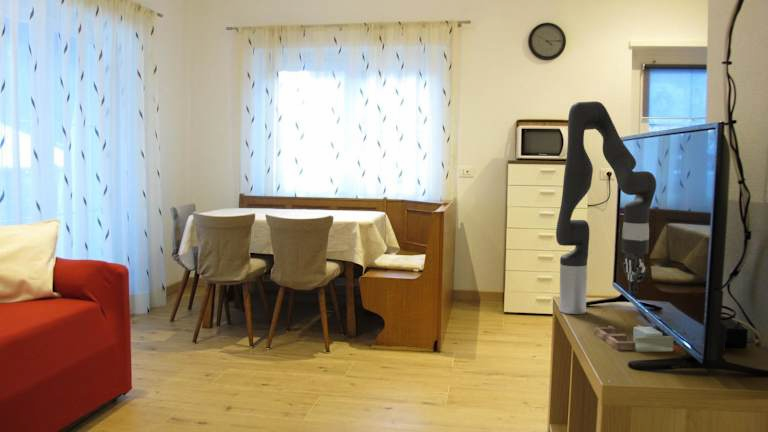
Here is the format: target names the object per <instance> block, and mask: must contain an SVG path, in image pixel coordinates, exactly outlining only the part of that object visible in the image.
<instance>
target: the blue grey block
mask: <svg viewBox="0 0 768 432" xmlns="http://www.w3.org/2000/svg"><path fill="white" fill-rule="evenodd" d="M632 334H633V335H632V342H635V337H644V336H664V335H663V332H661V331H659V330H657V329H655V328H653V327H651V326H642V327H637V326H633V332H632Z"/></svg>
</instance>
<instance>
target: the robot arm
mask: <svg viewBox="0 0 768 432" xmlns="http://www.w3.org/2000/svg"><path fill="white" fill-rule="evenodd" d="M567 121H568V123H567V146H566V147H567V149H566V159H565V166H564V174H563V181H562V182H563V184H562V185H563V186H562V196H561V203H560V207H559V214H558V219H557V221H556V222H557V223H556V224H557V225H556V229H555V238H556V242H557V244H558V245H559V246H561V247H562V246H565V247H568V246H573V247H574V249H573V250H571V251H570V252H567V253H565V254H562V255H561V256H560V259H559V261H560V262H559V301H558V303H559V305H558V308H559V309H558V311H559V312H561V313H564V314H568V315H569V314H570V315H584V314H586V312H587V285H588V284H587V281H588V279H587V278H588V277H587V276H588V258H589V245H590V225H589V223H588V221H586V219H585V220H584V219H572V216H573V213H574V211H575V209H576V207H577V206H578V205H579V203H580V202H581V201H582V200H583V198H585V196H586V195H587V194H588V192H589V190H590V189H591V186H592V181H593V175H594V174H593V172H594V168H593V164H592V162H591V161H592V160H591V159H590V157H589V155H588V153H587V150H586V148H585V143H584V142H585V141H584V139H585V138H584V137H585V131H588V130H589V131H591V130H596V131H597V132H598V133H599V134H600V136H601V137H602V153H603V157H604V158H605V160H606V162H607V163H608V164H609V166H610V167H611V169H612V170H613V173H614V176H615V180H616V182H617V186H618V188H619V189H620V191H621V192H622V193H624V194H625V195H627V196H635V197H634V199H633V200H632V201H631V202H628V203H626V204H624V207H623V225H622V229H621V230H622V233H621V234H622V235H621V252H622V253H624V254H625V257H624V258H625V259H621V266H622V270H623V273H624V276H625V278H627V280H628V293H630V294H635V295H637V294H638V293H639V291H638V290H639V282H642V281H643V280H644V278H645V276H646V274H647V272H648V269H649V268H648V266H646V265H645V264H644V263H645V259H644V255H646V254H649V247H650V246H649V241H650V240H649V239H650V225H649V222H650V221H649V220H650V218H649V217H650V208H651V206H652V204H653V200H654V196H655V193H656V190H657V180H656V177H655V176H654V174H653V173H652V172H650V171H647V170H646V171H645V170H643V171H642V170H641V171H635V170H634V169H635V168H636V166H637V161H636V159H635V156H634V155H632V153H631V151H630V150H629V149H628V147H627V146H626V145H625V143H624V141H622V138H621V136H620V135H619V133H618V131H617V128H616V126H615V124H614V122H613V120H612V118H611V116H610V114H609V112H608V110H607V108H606V106H604V104H603V103H602V102H600V101H597V100H596V101H595V100H594V101H579V102H575V103H573V104H572V105H571V106H570V109H569V113H568V119H567Z"/></svg>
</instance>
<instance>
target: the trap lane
mask: <svg viewBox="0 0 768 432" xmlns="http://www.w3.org/2000/svg"><path fill="white" fill-rule="evenodd" d="M636 327H643V326H642V325H637V324H636ZM616 330H617V328H616V327H614V326H612V325H608V326H607V327H594V335H595V336H597V337H598V338H600V339H601V340H602V341H603V342H605V343H606V344H608V345H609V346H610V347H611V348H613V349H615V350H616V351H625V350H626V351H627V350H628V351H629V350H630V351H631V350H632V351H634V352H638V353H639V352H646V353H647V352H674V337H673V336H672V335H663V336H644V337H635V342H633V341H628V335H626V334H625V333H617V331H616ZM671 336H672V337H673V338H672V337H671Z"/></svg>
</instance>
